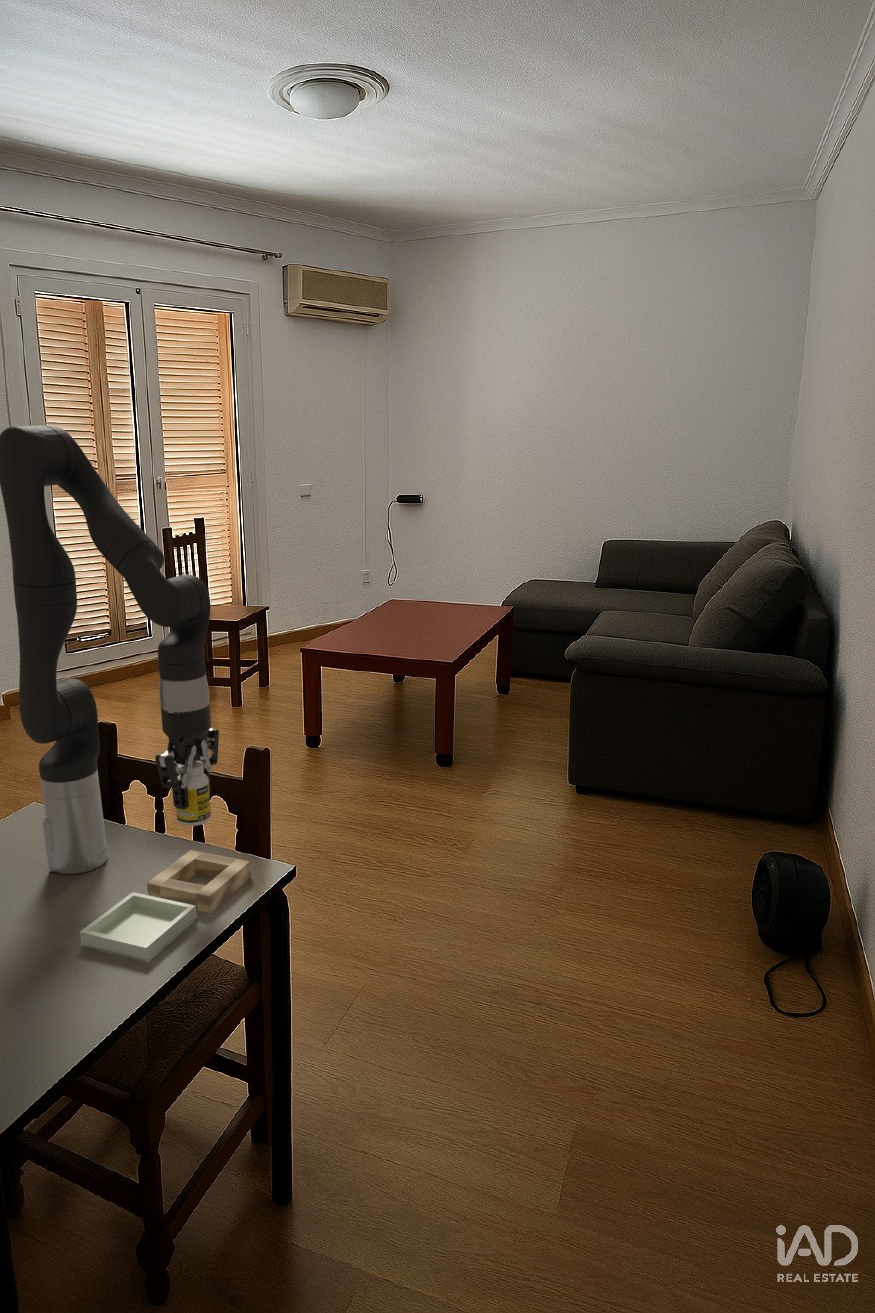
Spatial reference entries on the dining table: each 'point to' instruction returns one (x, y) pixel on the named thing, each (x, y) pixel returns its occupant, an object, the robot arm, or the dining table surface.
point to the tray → (138, 927)
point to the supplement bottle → (195, 797)
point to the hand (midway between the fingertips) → (192, 800)
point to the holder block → (221, 868)
